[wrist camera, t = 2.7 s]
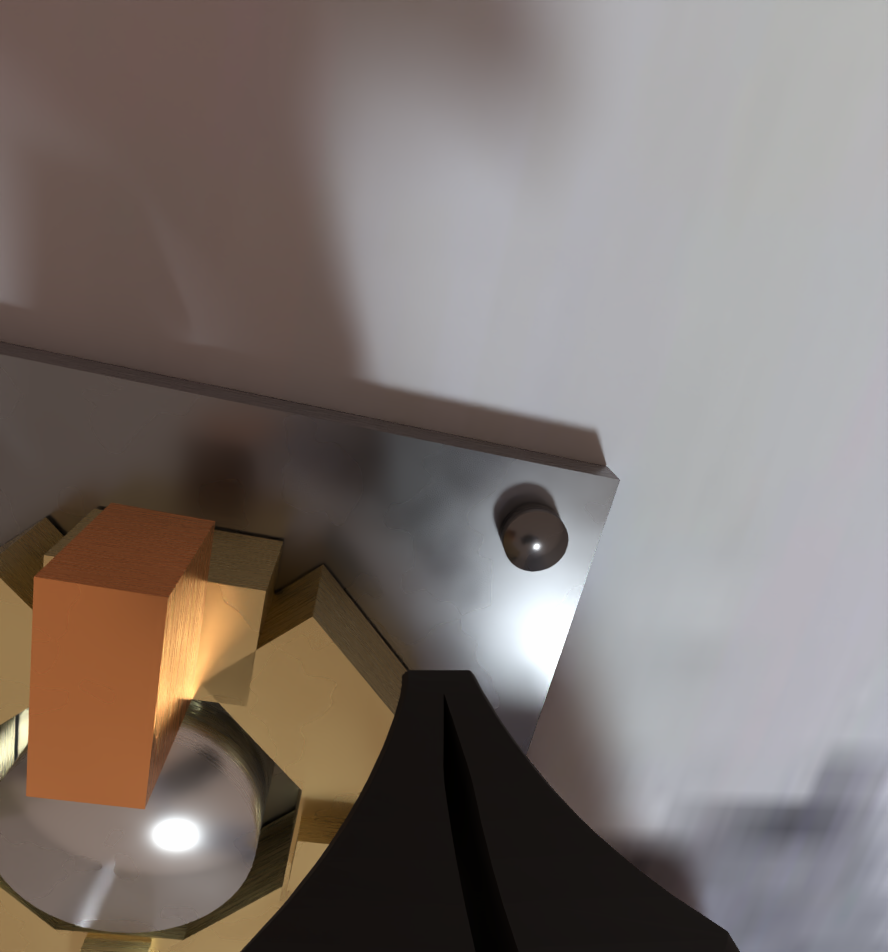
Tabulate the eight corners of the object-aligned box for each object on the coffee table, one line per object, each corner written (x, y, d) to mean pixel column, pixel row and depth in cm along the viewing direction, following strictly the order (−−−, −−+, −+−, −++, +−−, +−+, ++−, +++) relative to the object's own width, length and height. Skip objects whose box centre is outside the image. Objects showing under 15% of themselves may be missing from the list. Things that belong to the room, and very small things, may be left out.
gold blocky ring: (478, 523, 16) (518, 653, 11) (363, 944, 21) (355, 1168, 16) (-125, 411, 14) (-406, 507, 9) (-102, 904, 19) (-279, 1146, 14)
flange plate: (607, 466, 17) (677, 541, 13) (435, 982, 24) (446, 1145, 19) (-254, 289, 14) (-521, 312, 10) (-185, 934, 21) (-333, 1114, 16)
